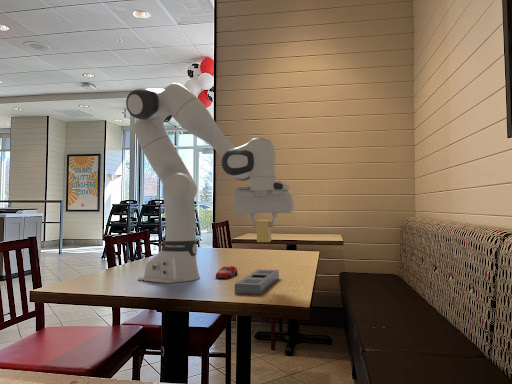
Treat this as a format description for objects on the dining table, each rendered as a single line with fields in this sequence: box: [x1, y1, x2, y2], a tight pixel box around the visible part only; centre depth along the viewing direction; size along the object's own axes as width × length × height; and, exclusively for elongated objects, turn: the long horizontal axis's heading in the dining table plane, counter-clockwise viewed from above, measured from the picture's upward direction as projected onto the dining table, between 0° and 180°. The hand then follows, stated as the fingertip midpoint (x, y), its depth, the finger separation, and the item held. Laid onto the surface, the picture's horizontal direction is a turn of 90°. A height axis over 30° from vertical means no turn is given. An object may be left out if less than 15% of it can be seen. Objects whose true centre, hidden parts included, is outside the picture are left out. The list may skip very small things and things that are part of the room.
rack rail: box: [234, 269, 280, 296], centre depth 127 cm, size 8×28×3 cm, turn 165°
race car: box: [215, 265, 238, 280], centre depth 144 cm, size 13×5×4 cm, turn 162°
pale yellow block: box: [256, 219, 272, 243], centre depth 126 cm, size 4×4×7 cm
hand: (263, 227), depth 126 cm, fingers closed on pale yellow block, 4 cm apart
